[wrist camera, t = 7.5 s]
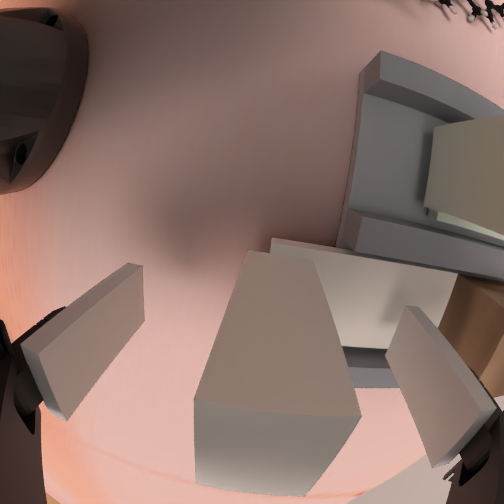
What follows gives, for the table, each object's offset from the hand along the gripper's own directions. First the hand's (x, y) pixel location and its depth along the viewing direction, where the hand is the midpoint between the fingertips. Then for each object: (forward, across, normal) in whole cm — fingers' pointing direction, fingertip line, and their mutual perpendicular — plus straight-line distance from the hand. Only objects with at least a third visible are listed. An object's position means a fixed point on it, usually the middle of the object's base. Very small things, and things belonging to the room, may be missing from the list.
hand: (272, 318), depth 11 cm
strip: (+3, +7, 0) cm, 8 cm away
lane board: (+5, +15, +4) cm, 16 cm away
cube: (+2, +12, 0) cm, 13 cm away
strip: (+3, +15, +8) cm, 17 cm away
